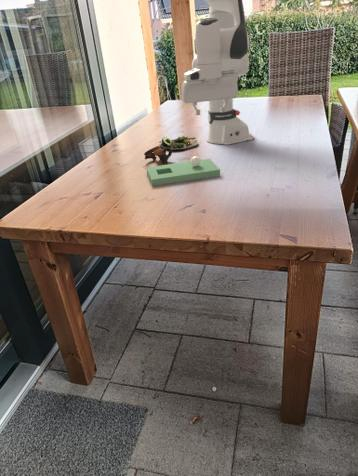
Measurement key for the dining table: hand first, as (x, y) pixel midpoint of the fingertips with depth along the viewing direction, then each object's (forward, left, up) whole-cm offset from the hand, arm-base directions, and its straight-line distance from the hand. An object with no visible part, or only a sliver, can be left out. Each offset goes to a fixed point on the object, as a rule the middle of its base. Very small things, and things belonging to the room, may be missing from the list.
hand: (210, 113), depth 137 cm
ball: (+7, 0, -17) cm, 18 cm away
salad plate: (+6, -39, -22) cm, 45 cm away
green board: (+12, 0, -22) cm, 25 cm away
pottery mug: (+18, -18, -22) cm, 34 cm away
